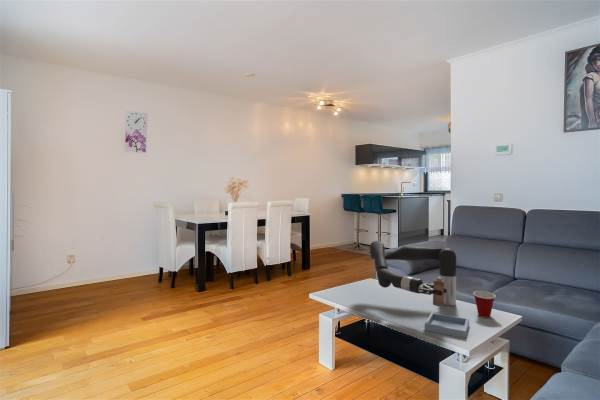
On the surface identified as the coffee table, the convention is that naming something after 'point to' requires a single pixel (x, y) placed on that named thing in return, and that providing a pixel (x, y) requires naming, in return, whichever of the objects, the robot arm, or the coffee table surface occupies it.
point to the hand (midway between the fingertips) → (443, 292)
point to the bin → (447, 325)
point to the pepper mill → (439, 285)
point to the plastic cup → (484, 302)
